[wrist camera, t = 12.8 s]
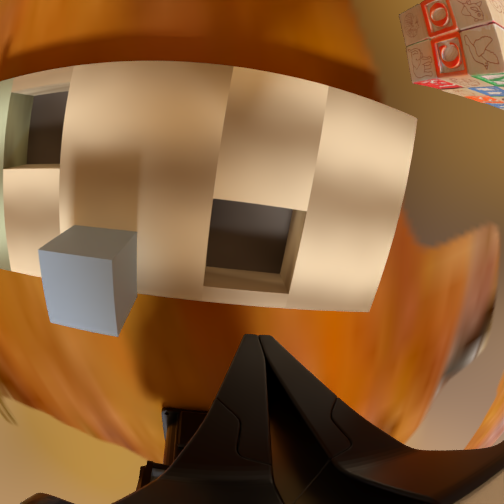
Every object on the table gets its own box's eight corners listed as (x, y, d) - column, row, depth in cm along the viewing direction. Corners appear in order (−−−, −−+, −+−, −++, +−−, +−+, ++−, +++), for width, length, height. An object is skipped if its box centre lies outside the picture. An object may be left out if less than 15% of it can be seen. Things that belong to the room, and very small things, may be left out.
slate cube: (137, 296, 16) (118, 336, 12) (79, 287, 15) (50, 322, 12) (137, 231, 15) (111, 260, 11) (74, 225, 14) (37, 249, 10)
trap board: (352, 291, 21) (378, 324, 17) (-7, 248, 16) (-39, 269, 12) (392, 119, 16) (432, 117, 12) (-5, 92, 12) (-41, 90, 8)
